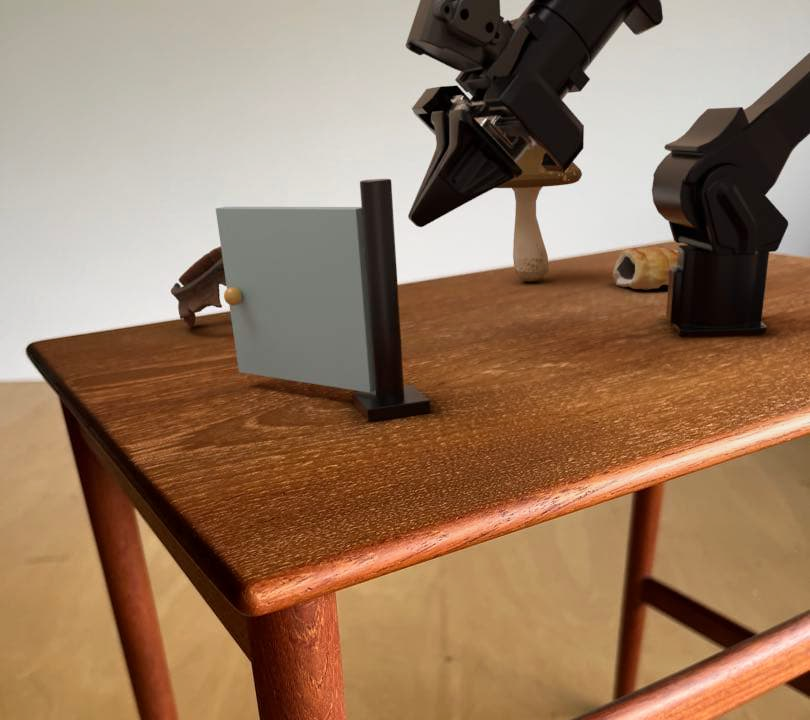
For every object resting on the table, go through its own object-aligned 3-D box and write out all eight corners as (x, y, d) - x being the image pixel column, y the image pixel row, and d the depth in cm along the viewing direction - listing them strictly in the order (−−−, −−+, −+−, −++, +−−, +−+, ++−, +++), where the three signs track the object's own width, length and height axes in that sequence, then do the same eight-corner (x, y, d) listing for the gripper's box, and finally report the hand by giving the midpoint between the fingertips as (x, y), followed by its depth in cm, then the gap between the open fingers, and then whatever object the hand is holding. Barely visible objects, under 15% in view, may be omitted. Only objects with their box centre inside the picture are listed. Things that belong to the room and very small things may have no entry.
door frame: (430, 412, 55) (419, 178, 49) (368, 421, 54) (349, 184, 48) (411, 396, 58) (399, 176, 52) (353, 404, 57) (333, 181, 51)
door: (379, 389, 56) (366, 207, 52) (358, 398, 55) (342, 211, 50) (248, 369, 63) (226, 206, 58) (226, 376, 62) (201, 210, 57)
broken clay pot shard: (289, 338, 79) (231, 260, 74) (208, 383, 82) (148, 312, 78) (307, 280, 88) (257, 209, 83) (233, 324, 91) (181, 257, 87)
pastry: (688, 275, 92) (692, 237, 91) (725, 285, 87) (729, 244, 85) (606, 284, 91) (608, 245, 89) (638, 295, 85) (640, 253, 83)
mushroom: (500, 272, 101) (498, 129, 95) (594, 276, 95) (598, 123, 89) (459, 286, 94) (454, 133, 88) (558, 291, 89) (560, 127, 82)
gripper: (431, -35, 65) (301, 140, 67) (538, -94, 48) (361, 141, 51) (530, 79, 70) (406, 239, 72) (657, 61, 54) (492, 267, 56)
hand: (413, 222), depth 63 cm, fingers closed
